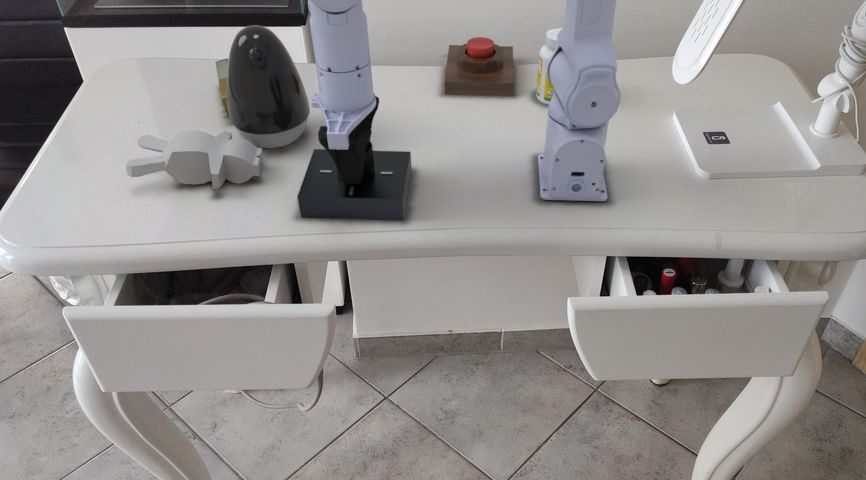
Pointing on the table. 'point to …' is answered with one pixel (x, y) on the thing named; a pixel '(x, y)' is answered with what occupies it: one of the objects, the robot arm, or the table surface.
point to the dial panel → (356, 189)
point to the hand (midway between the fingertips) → (355, 169)
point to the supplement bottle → (543, 85)
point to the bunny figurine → (199, 158)
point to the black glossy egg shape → (265, 90)
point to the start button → (480, 48)
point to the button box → (479, 72)
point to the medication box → (223, 80)
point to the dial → (367, 163)
